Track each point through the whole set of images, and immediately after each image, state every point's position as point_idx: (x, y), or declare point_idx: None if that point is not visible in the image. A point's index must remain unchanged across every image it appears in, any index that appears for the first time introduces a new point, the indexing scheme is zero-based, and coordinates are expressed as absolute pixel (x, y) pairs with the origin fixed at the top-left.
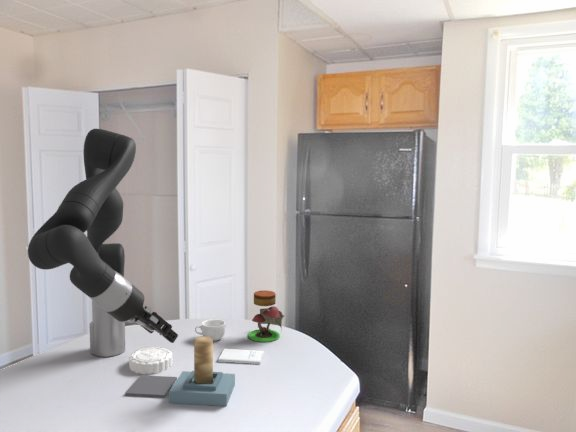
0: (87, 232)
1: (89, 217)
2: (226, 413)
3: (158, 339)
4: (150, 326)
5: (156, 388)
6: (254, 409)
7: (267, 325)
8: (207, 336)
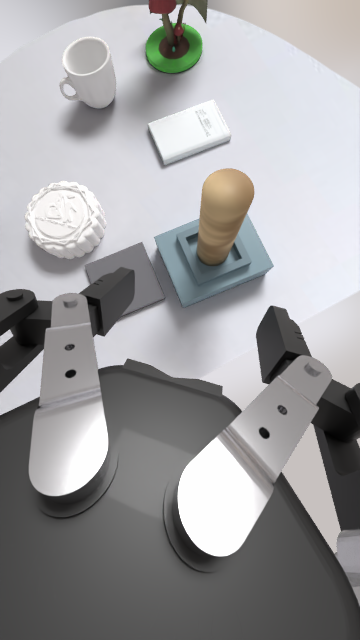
0: None
1: None
2: (278, 290)
3: (16, 146)
4: (123, 296)
5: (138, 287)
6: (307, 261)
7: (180, 14)
8: (95, 101)
